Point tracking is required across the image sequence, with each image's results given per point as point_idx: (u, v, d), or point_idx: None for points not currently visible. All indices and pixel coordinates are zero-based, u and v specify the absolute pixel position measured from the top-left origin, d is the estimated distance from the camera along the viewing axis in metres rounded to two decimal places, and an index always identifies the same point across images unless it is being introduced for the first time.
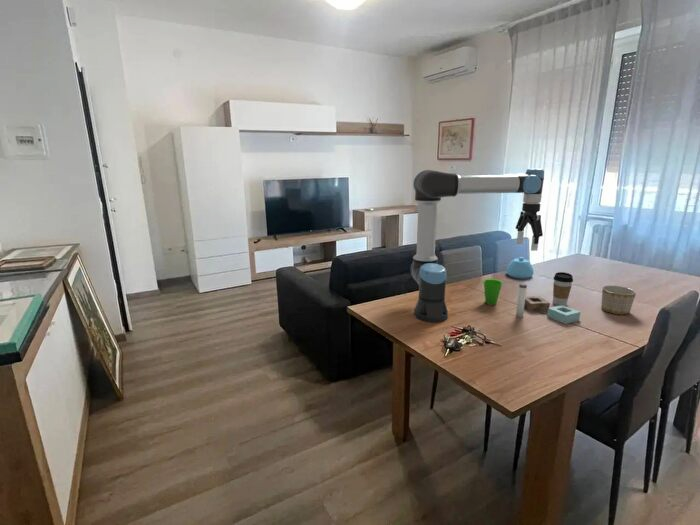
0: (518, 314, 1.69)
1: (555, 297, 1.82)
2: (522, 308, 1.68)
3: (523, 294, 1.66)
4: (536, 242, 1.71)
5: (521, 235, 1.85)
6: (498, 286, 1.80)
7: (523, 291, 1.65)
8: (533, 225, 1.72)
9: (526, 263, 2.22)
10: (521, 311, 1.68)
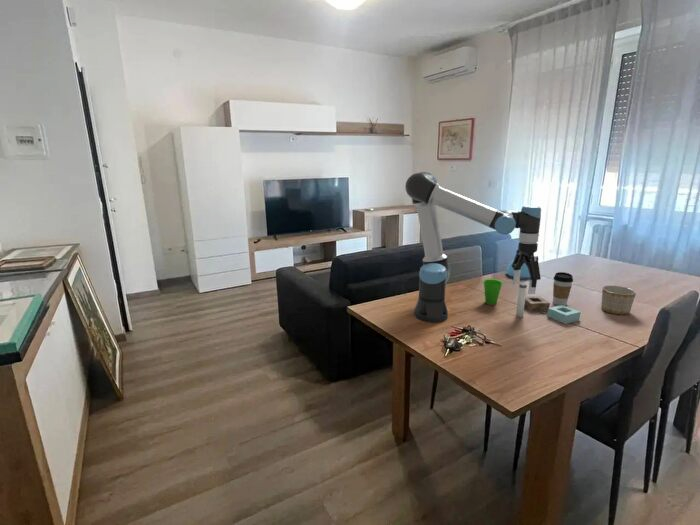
0: (518, 314, 1.69)
1: (555, 297, 1.82)
2: (522, 308, 1.68)
3: (523, 294, 1.66)
4: (534, 285, 1.57)
5: (518, 274, 1.71)
6: (498, 286, 1.80)
7: (523, 291, 1.65)
8: (530, 267, 1.59)
9: None
10: (521, 311, 1.68)
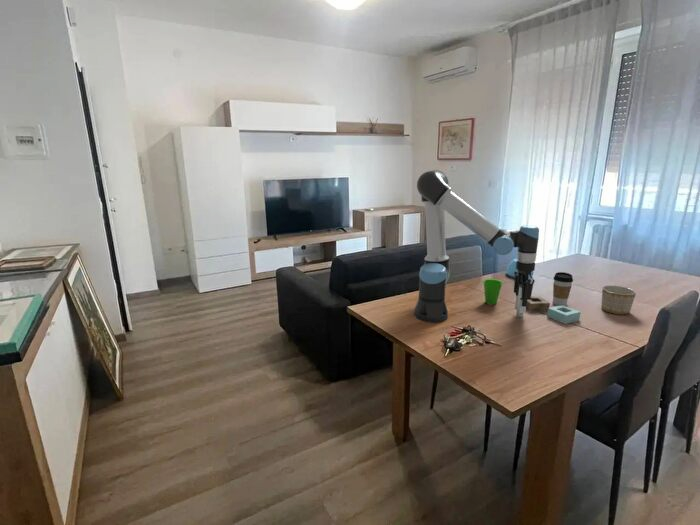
0: (518, 314, 1.69)
1: (555, 297, 1.82)
2: None
3: None
4: (524, 305, 1.65)
5: None
6: (498, 286, 1.80)
7: None
8: (524, 287, 1.64)
9: None
10: None
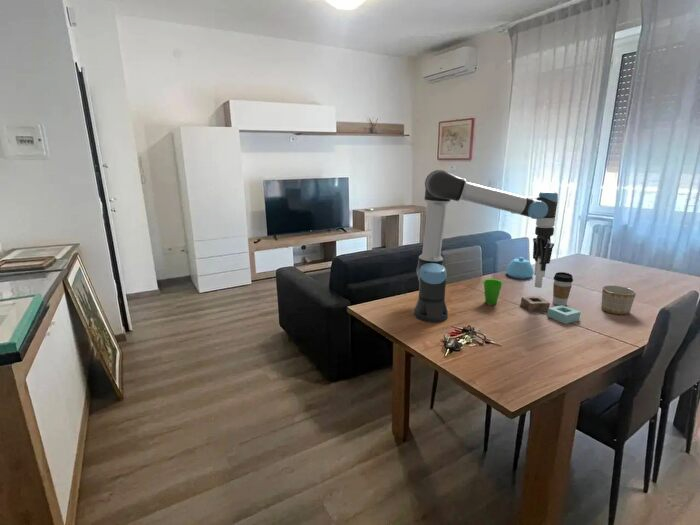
0: (537, 284, 1.75)
1: (555, 297, 1.82)
2: (541, 278, 1.74)
3: None
4: (543, 269, 1.71)
5: None
6: (498, 286, 1.80)
7: None
8: (543, 251, 1.69)
9: (526, 263, 2.22)
10: (540, 281, 1.74)
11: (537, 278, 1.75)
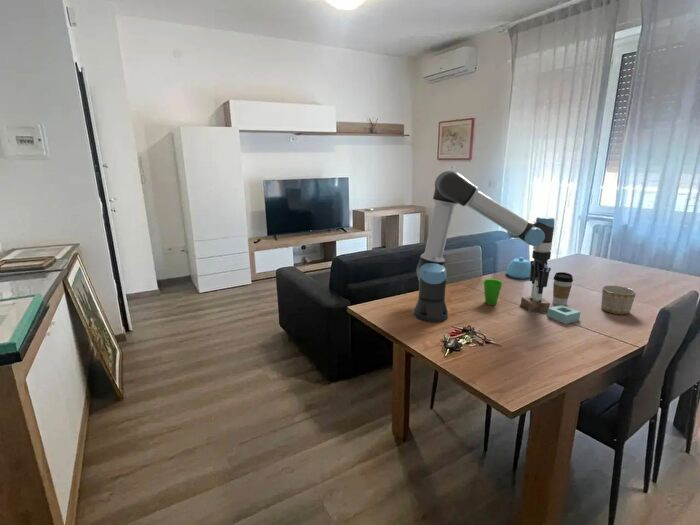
0: None
1: (555, 297, 1.82)
2: (537, 300, 1.77)
3: None
4: (540, 292, 1.74)
5: None
6: (498, 286, 1.80)
7: None
8: (540, 275, 1.72)
9: (526, 263, 2.22)
10: None
11: (534, 299, 1.77)
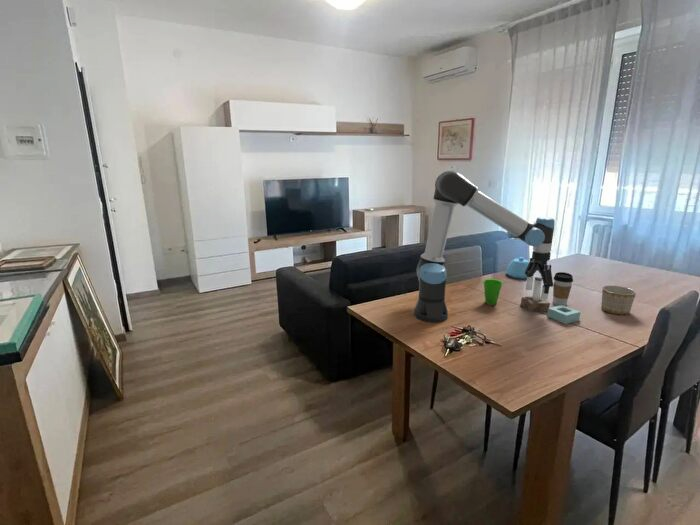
0: None
1: (555, 297, 1.82)
2: (537, 300, 1.77)
3: (538, 287, 1.75)
4: (546, 292, 1.68)
5: (530, 281, 1.83)
6: (498, 286, 1.80)
7: (538, 284, 1.75)
8: (543, 274, 1.70)
9: (526, 263, 2.22)
10: None
11: (534, 299, 1.77)
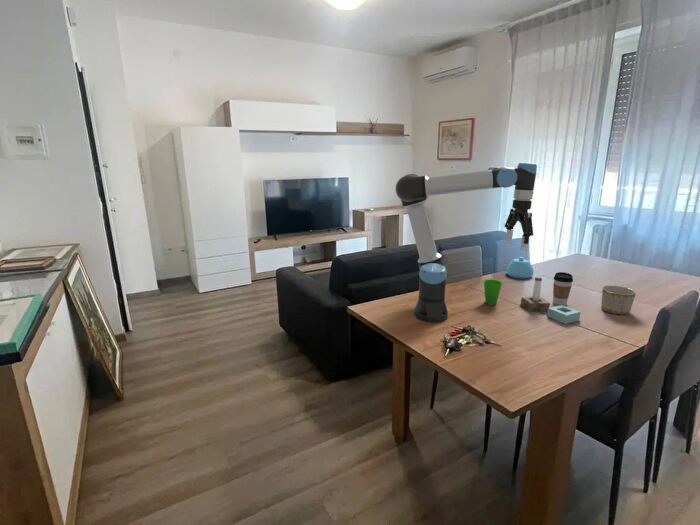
0: None
1: (555, 297, 1.82)
2: (537, 300, 1.77)
3: (538, 287, 1.75)
4: (526, 242, 1.59)
5: (510, 234, 1.73)
6: (498, 286, 1.80)
7: (538, 284, 1.75)
8: (523, 223, 1.60)
9: (526, 263, 2.22)
10: None
11: (534, 299, 1.77)
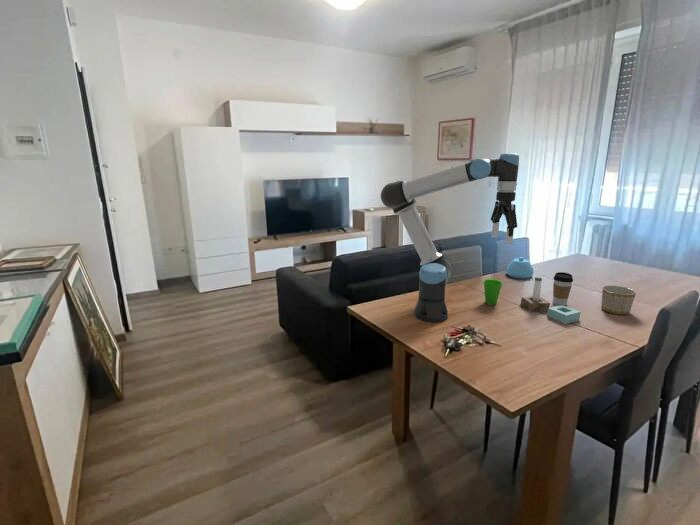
0: None
1: (555, 297, 1.82)
2: (537, 300, 1.77)
3: (538, 287, 1.75)
4: (510, 234, 1.55)
5: (496, 227, 1.69)
6: (498, 286, 1.80)
7: (538, 284, 1.75)
8: (507, 216, 1.56)
9: (526, 263, 2.22)
10: None
11: (534, 299, 1.77)
